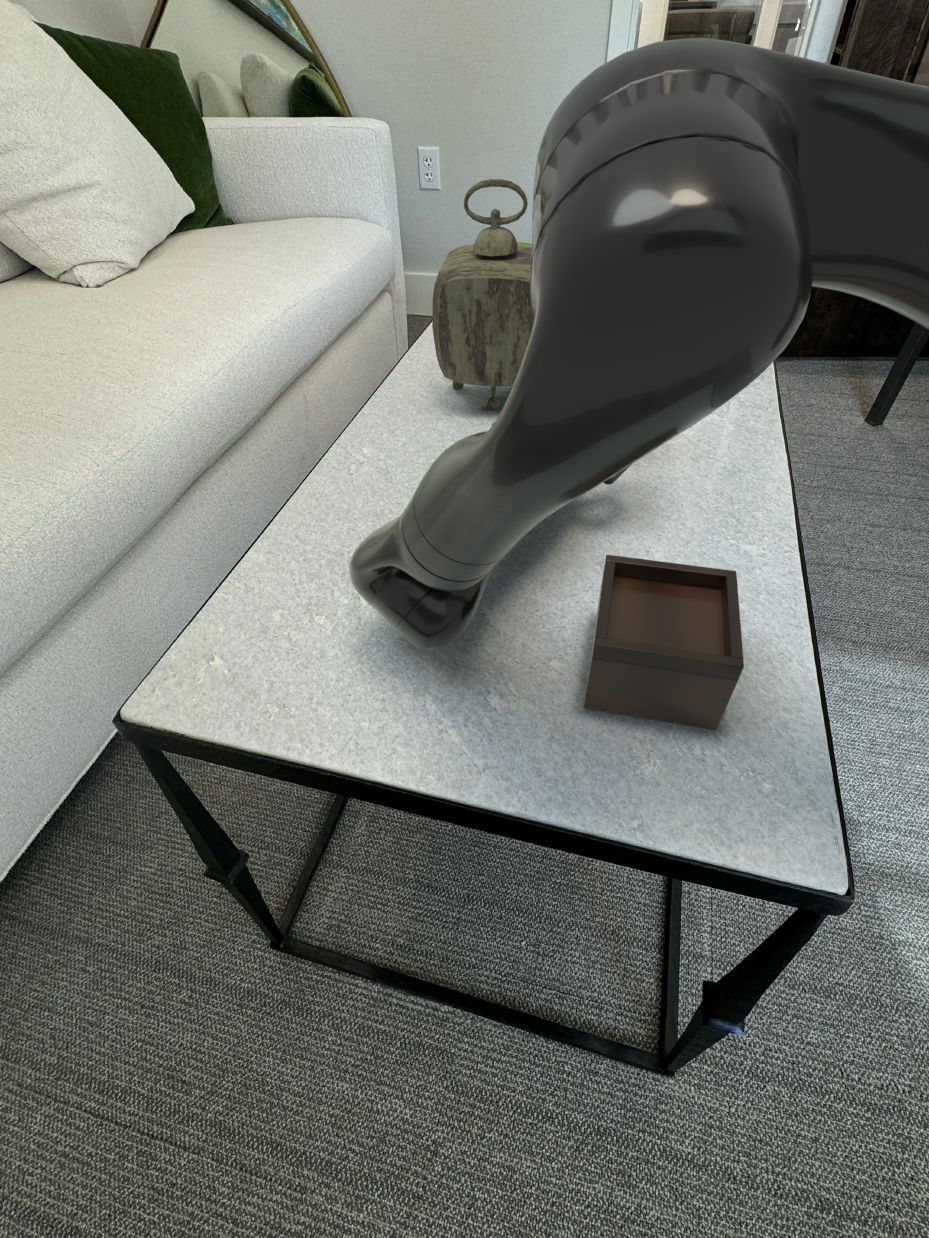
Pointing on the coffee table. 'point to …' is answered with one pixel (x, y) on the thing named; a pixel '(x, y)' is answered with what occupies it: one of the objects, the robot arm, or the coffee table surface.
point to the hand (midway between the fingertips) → (594, 410)
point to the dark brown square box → (665, 642)
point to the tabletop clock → (484, 303)
